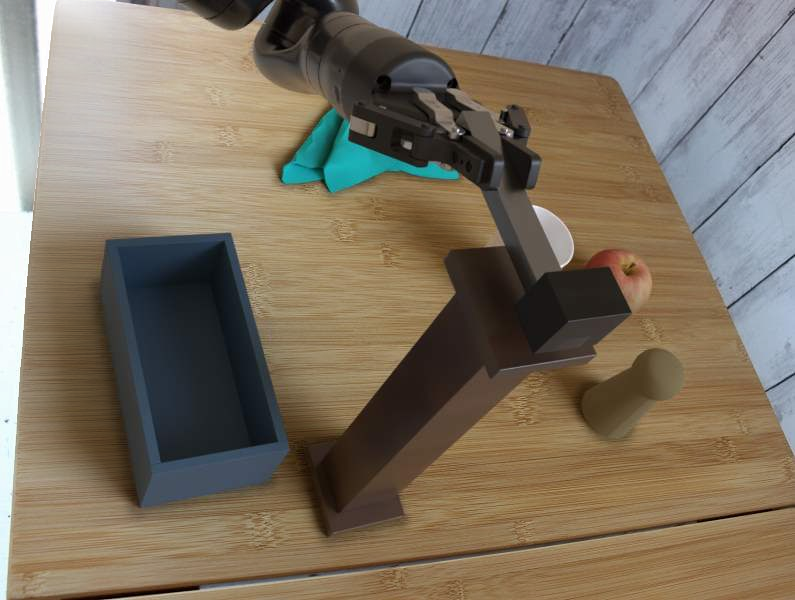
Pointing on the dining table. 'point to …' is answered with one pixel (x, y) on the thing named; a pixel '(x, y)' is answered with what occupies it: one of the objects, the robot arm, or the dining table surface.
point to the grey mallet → (545, 264)
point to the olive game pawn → (632, 392)
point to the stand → (432, 394)
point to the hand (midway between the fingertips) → (515, 174)
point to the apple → (626, 275)
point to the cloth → (345, 159)
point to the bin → (189, 367)
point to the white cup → (548, 236)
